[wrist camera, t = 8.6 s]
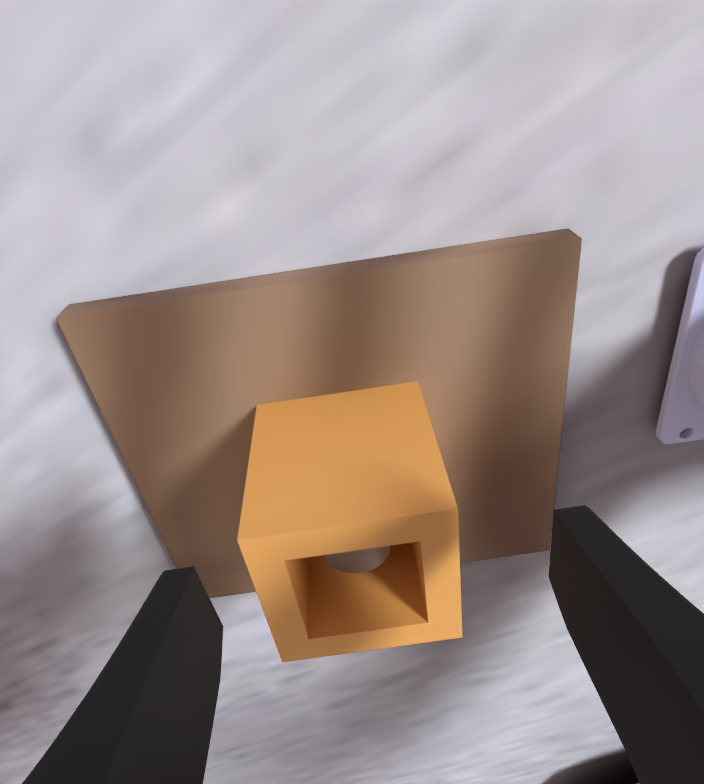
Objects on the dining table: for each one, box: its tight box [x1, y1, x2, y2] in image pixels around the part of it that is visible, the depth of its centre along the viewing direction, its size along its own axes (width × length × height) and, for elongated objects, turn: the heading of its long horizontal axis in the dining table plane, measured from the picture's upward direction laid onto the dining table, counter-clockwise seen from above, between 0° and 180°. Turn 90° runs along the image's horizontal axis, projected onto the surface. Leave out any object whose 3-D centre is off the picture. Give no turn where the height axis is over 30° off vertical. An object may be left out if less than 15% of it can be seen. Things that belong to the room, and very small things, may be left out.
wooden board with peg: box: [56, 229, 582, 598], centre depth 19 cm, size 16×14×6 cm
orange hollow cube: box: [237, 381, 462, 662], centre depth 18 cm, size 6×6×6 cm
